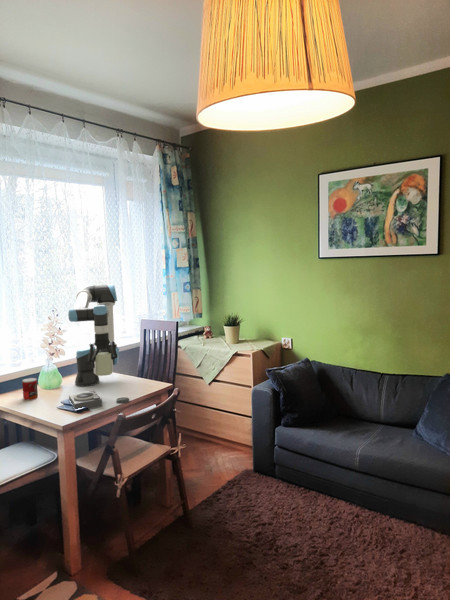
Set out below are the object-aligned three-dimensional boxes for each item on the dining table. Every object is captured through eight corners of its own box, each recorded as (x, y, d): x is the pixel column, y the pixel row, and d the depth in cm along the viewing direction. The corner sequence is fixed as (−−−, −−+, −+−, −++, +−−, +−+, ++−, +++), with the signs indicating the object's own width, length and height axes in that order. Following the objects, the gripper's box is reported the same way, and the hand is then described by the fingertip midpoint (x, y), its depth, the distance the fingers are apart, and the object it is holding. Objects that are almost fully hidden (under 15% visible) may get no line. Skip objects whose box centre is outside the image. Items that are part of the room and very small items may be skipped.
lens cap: (114, 401, 240) (114, 398, 240) (126, 399, 245) (126, 396, 244) (119, 404, 235) (119, 401, 235) (131, 402, 239) (131, 399, 239)
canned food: (31, 400, 245) (29, 381, 244) (20, 399, 248) (18, 380, 247) (41, 396, 253) (39, 378, 252) (30, 395, 255) (29, 377, 254)
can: (108, 375, 238) (106, 354, 237) (92, 375, 240) (91, 354, 239) (114, 371, 247) (113, 351, 246) (99, 371, 249) (98, 351, 248)
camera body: (69, 402, 241) (68, 393, 240) (94, 397, 248) (94, 389, 247) (75, 411, 225) (74, 401, 225) (102, 406, 232) (101, 397, 232)
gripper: (83, 335, 233) (86, 376, 235) (122, 331, 244) (124, 370, 246) (80, 334, 239) (82, 373, 241) (118, 329, 251) (120, 367, 252)
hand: (103, 372), depth 244 cm, fingers closed on can, 9 cm apart
